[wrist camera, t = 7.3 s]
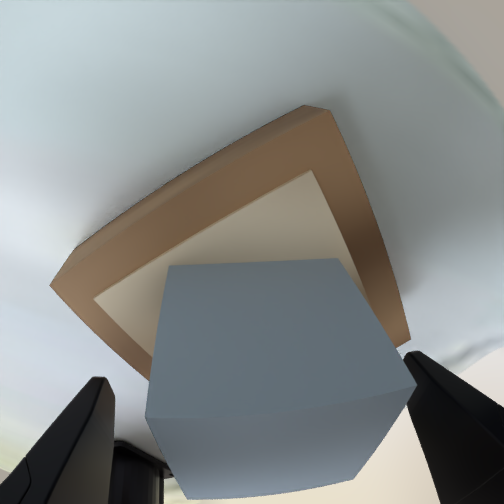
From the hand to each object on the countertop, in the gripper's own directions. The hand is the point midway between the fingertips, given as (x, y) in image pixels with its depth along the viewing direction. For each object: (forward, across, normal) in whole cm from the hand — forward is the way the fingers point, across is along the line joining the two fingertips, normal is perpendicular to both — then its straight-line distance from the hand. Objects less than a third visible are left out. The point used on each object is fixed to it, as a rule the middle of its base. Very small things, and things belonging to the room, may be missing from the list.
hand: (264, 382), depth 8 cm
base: (+5, 0, 0) cm, 5 cm away
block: (+2, 0, 0) cm, 2 cm away
